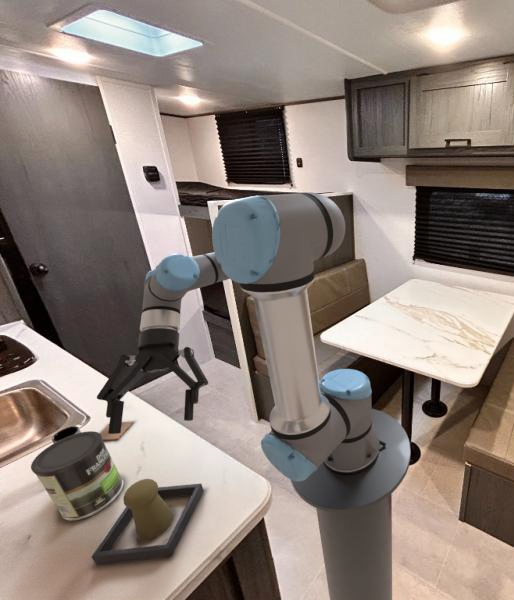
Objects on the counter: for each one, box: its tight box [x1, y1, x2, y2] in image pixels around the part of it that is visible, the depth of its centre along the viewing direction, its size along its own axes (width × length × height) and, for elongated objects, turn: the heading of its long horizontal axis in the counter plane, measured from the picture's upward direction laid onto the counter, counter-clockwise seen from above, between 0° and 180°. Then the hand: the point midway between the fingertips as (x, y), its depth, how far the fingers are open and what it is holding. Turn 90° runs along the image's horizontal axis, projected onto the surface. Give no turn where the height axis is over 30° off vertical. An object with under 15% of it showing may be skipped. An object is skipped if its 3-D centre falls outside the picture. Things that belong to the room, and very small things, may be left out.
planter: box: [51, 425, 82, 444], centre depth 74 cm, size 4×4×10 cm
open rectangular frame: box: [91, 483, 205, 566], centre depth 64 cm, size 13×13×2 cm
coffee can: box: [30, 430, 124, 521], centre depth 66 cm, size 10×10×14 cm
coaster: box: [100, 421, 134, 442], centre depth 86 cm, size 6×6×1 cm
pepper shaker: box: [122, 478, 174, 541], centre depth 62 cm, size 6×6×11 cm
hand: (152, 426), depth 67 cm, fingers open, 13 cm apart
